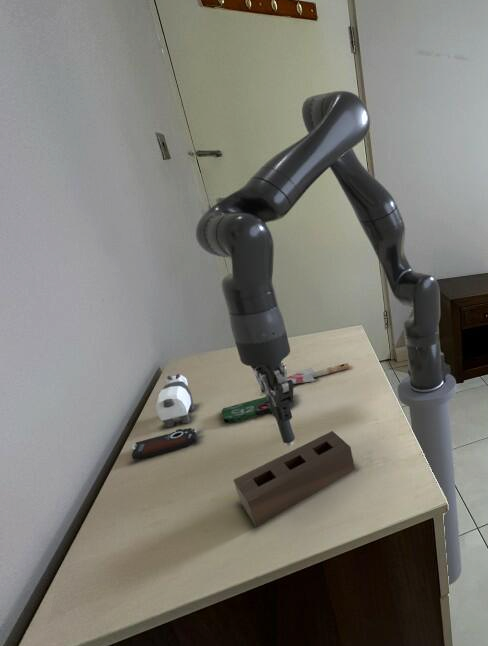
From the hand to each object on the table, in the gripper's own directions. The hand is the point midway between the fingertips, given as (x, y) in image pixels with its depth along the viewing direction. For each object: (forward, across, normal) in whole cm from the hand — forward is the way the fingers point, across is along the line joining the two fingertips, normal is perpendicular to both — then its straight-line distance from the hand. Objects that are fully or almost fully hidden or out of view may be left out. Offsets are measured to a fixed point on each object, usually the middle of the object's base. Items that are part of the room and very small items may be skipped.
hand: (282, 417), depth 74 cm
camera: (+17, +36, +15) cm, 42 cm away
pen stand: (+17, 0, 0) cm, 17 cm away
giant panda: (+17, +49, +10) cm, 53 cm away
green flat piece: (+17, +35, -4) cm, 39 cm away
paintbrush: (+17, +41, -21) cm, 49 cm away
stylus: (+6, 0, 0) cm, 6 cm away
